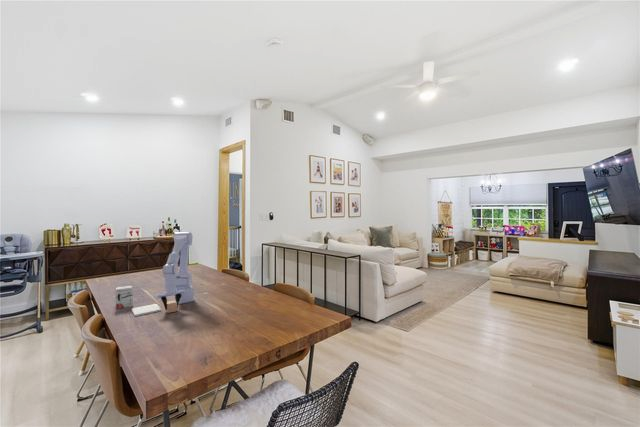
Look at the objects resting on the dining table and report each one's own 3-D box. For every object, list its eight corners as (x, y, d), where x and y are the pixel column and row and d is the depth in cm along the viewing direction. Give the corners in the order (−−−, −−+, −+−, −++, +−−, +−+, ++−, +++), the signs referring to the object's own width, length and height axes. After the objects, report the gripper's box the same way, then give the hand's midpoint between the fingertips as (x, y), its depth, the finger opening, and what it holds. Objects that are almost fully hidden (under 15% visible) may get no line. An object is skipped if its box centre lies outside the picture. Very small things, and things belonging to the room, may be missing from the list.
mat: (156, 305, 180) (156, 303, 180) (161, 311, 170) (161, 309, 170) (131, 310, 172) (131, 308, 172) (134, 316, 162) (134, 314, 162)
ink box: (115, 309, 174) (115, 289, 174) (116, 306, 178) (115, 287, 178) (132, 306, 179) (132, 286, 179) (132, 303, 183) (132, 285, 183)
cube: (175, 308, 173) (174, 300, 173) (177, 310, 169) (177, 302, 169) (165, 310, 170) (165, 301, 170) (167, 312, 166) (167, 304, 166)
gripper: (157, 288, 161) (158, 313, 162) (186, 283, 170) (186, 307, 171) (155, 286, 167) (156, 309, 167) (182, 281, 176) (183, 304, 176)
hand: (171, 308), depth 169 cm, fingers closed on cube, 5 cm apart
